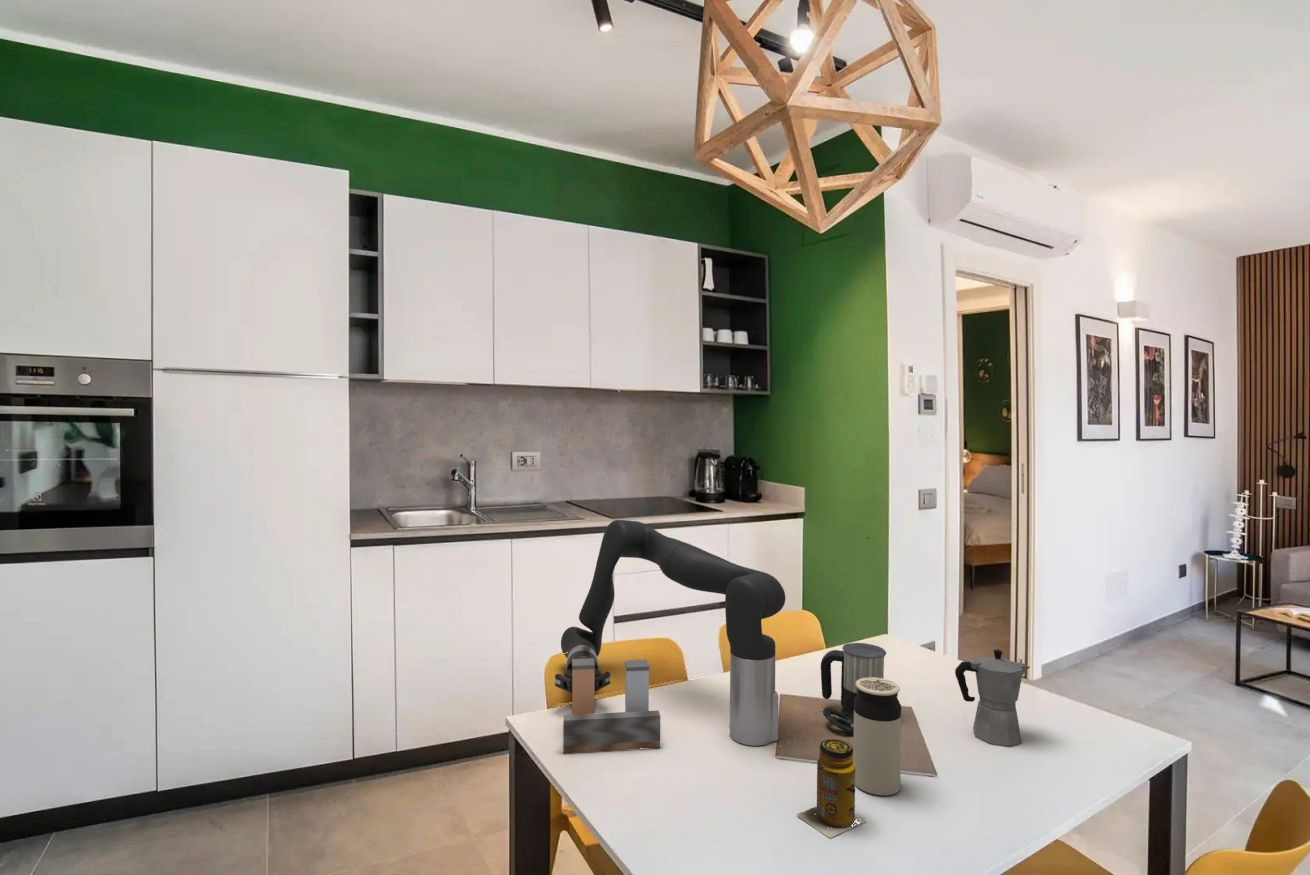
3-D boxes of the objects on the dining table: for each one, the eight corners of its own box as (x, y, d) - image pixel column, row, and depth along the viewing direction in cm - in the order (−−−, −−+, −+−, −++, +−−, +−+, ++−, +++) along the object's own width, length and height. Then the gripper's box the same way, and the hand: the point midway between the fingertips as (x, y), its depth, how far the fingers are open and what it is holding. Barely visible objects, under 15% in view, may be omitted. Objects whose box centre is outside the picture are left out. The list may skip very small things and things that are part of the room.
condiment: (866, 821, 109) (867, 748, 109) (830, 839, 105) (831, 762, 104) (831, 800, 115) (832, 731, 115) (796, 816, 111) (796, 744, 111)
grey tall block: (646, 719, 143) (646, 659, 142) (648, 728, 139) (649, 666, 138) (624, 720, 142) (625, 660, 142) (626, 729, 138) (626, 667, 138)
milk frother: (880, 707, 153) (881, 643, 153) (896, 740, 138) (897, 667, 138) (816, 704, 155) (816, 640, 155) (825, 736, 140) (825, 664, 139)
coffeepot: (1015, 726, 144) (1016, 642, 144) (1042, 747, 135) (1043, 657, 135) (944, 727, 144) (945, 642, 143) (966, 748, 134) (967, 658, 134)
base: (651, 717, 148) (651, 688, 148) (660, 748, 134) (660, 715, 134) (564, 722, 145) (564, 692, 145) (563, 753, 131) (563, 720, 131)
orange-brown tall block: (594, 718, 143) (594, 658, 143) (594, 726, 139) (594, 665, 139) (572, 719, 143) (572, 659, 142) (572, 727, 139) (572, 665, 138)
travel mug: (894, 802, 115) (895, 697, 115) (847, 788, 119) (848, 687, 119) (904, 781, 122) (905, 682, 121) (860, 769, 126) (860, 673, 126)
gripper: (553, 650, 159) (551, 678, 142) (610, 648, 161) (614, 675, 144) (554, 682, 159) (551, 713, 142) (610, 680, 161) (614, 710, 144)
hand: (583, 694), depth 143 cm, fingers closed
